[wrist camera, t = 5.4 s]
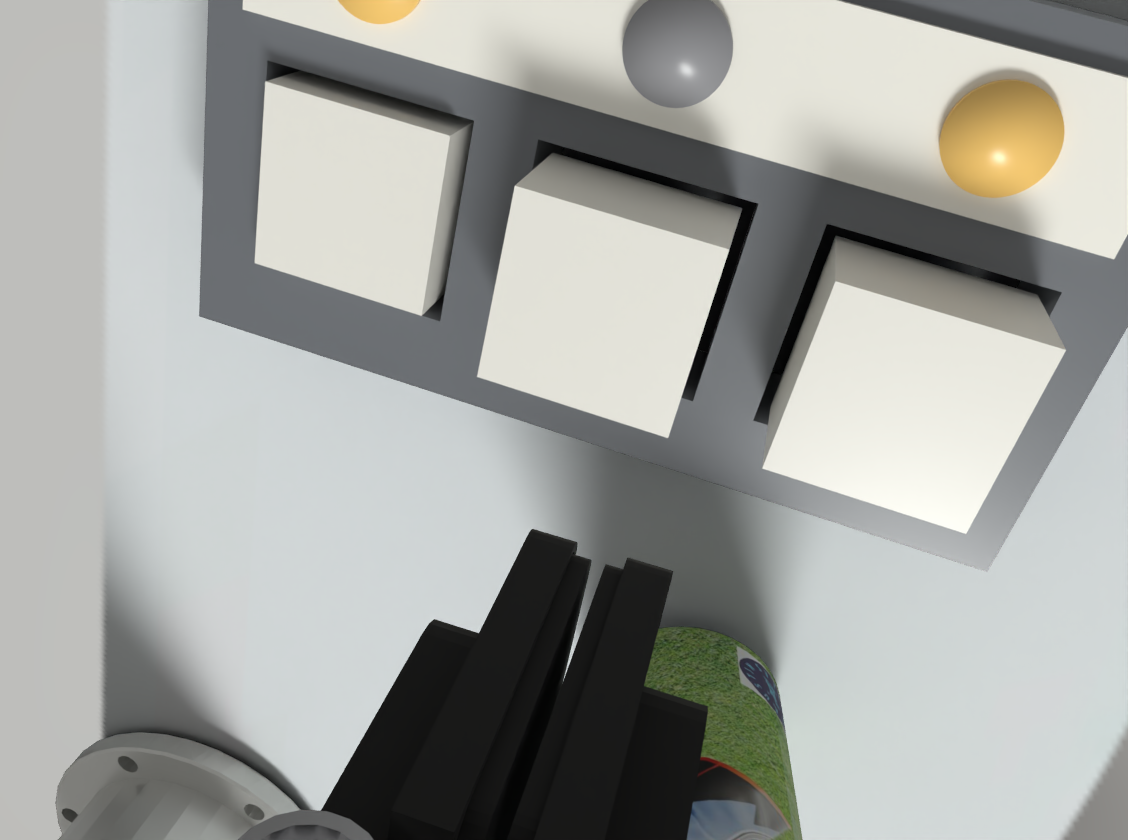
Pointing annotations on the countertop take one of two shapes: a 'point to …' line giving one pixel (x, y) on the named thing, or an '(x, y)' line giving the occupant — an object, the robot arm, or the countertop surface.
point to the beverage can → (731, 735)
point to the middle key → (604, 291)
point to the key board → (716, 186)
